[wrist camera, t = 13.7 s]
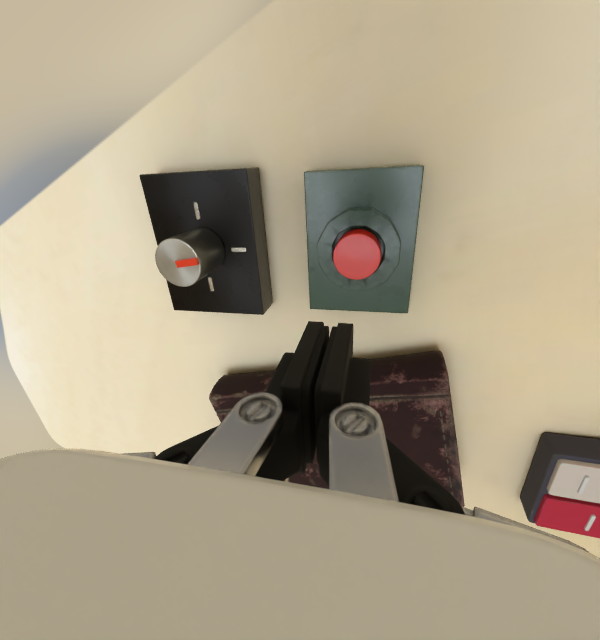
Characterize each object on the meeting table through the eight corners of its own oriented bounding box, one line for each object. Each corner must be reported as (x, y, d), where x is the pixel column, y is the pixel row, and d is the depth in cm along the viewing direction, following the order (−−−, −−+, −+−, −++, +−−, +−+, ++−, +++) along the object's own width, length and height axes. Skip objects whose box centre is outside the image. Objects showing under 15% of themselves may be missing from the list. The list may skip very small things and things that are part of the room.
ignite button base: (309, 170, 27) (298, 172, 23) (420, 164, 25) (427, 165, 21) (314, 300, 32) (306, 317, 29) (406, 303, 30) (409, 322, 27)
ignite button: (335, 229, 25) (332, 233, 24) (382, 228, 24) (382, 233, 23) (335, 272, 27) (333, 279, 25) (379, 273, 26) (379, 280, 24)
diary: (224, 368, 39) (204, 395, 35) (439, 342, 31) (448, 372, 27) (271, 472, 46) (259, 505, 42) (456, 472, 38) (465, 512, 34)
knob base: (159, 173, 30) (137, 175, 27) (258, 167, 28) (245, 168, 25) (189, 299, 36) (173, 310, 33) (272, 302, 33) (263, 315, 31)
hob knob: (193, 272, 30) (163, 290, 26) (179, 230, 29) (144, 243, 25) (230, 267, 29) (205, 285, 25) (217, 223, 28) (188, 235, 24)
